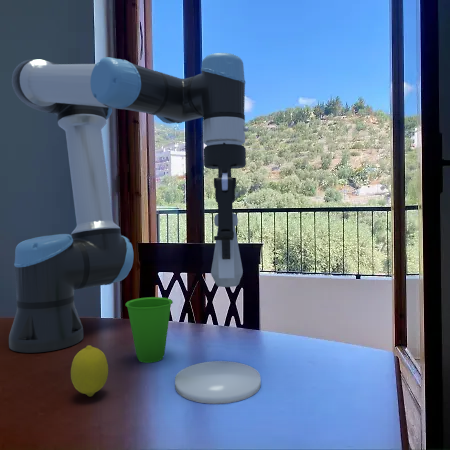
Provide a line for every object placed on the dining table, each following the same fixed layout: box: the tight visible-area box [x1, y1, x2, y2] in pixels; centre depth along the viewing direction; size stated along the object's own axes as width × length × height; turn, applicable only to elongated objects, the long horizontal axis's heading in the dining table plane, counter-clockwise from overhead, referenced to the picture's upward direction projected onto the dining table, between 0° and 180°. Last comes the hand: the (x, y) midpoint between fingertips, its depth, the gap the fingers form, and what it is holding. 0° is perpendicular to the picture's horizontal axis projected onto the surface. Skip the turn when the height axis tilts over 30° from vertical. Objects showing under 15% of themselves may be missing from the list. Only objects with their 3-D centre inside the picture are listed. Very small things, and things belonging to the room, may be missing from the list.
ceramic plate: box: [174, 360, 262, 405], centre depth 69 cm, size 14×14×1 cm
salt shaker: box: [210, 212, 244, 288], centre depth 75 cm, size 6×6×13 cm
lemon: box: [70, 345, 109, 397], centre depth 65 cm, size 6×6×8 cm
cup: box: [125, 296, 174, 364], centre depth 81 cm, size 9×9×11 cm
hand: (226, 274), depth 75 cm, fingers closed on salt shaker, 6 cm apart
